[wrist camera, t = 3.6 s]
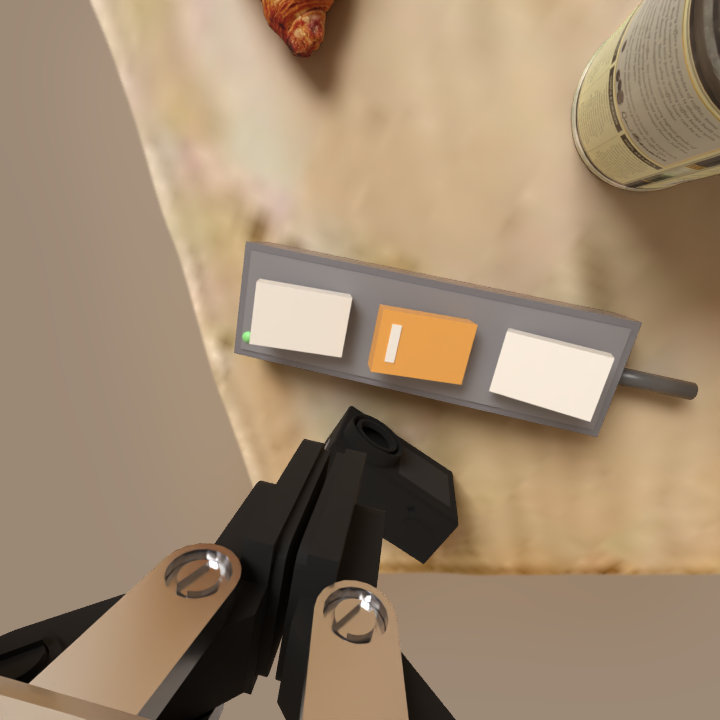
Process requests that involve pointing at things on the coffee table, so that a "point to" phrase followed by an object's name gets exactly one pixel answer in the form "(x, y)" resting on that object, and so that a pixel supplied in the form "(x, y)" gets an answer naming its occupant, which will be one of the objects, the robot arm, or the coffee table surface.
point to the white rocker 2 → (551, 373)
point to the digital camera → (399, 484)
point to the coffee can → (653, 98)
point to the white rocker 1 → (299, 318)
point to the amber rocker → (421, 344)
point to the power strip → (450, 299)
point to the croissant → (298, 22)
